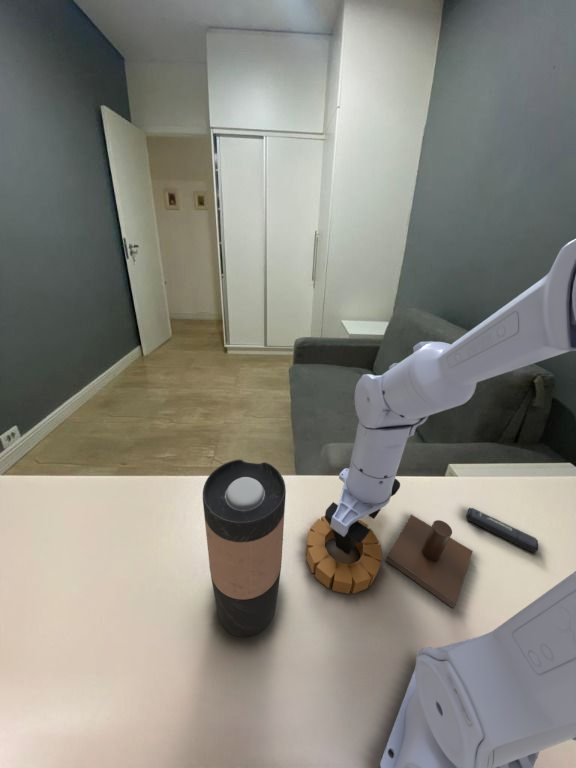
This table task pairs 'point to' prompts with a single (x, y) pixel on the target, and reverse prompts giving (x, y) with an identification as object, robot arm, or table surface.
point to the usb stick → (502, 529)
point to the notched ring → (340, 573)
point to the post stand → (431, 558)
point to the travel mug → (245, 542)
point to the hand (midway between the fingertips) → (356, 530)
